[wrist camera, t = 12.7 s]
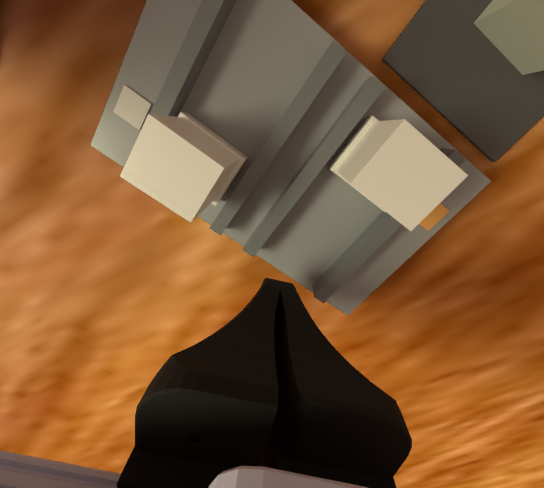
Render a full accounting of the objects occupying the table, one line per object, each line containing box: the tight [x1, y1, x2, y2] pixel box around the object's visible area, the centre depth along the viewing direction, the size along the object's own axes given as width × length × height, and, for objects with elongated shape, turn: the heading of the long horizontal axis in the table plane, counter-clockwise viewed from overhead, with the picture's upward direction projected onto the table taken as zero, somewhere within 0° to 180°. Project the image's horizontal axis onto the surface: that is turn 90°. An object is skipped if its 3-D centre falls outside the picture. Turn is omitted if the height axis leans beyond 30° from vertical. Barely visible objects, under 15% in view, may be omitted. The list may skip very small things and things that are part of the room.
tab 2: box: [328, 116, 468, 231], centre depth 10 cm, size 3×2×4 cm
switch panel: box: [91, 0, 491, 315], centre depth 12 cm, size 15×9×2 cm, turn 55°
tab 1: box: [120, 112, 248, 222], centre depth 10 cm, size 3×2×4 cm
